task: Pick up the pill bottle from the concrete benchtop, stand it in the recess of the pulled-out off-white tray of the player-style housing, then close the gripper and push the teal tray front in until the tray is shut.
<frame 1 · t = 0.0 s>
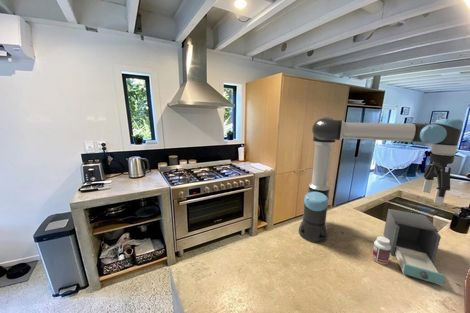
hand: (431, 197, 90), 28 cm above the counter, fingers open, 13 cm apart
housing: (405, 248, 96), on the counter
pill bottle: (379, 260, 88), on the counter
tray: (416, 261, 83), point 3 cm above the counter, slide at 13.0 cm
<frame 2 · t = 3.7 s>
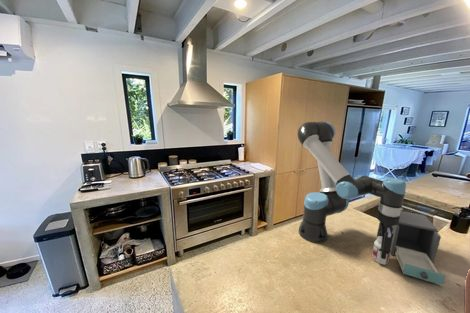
hand: (379, 258, 88), 1 cm above the counter, fingers closed on pill bottle, 6 cm apart
pill bottle: (379, 260, 88), on the counter, touching gripper
everything else where it was.
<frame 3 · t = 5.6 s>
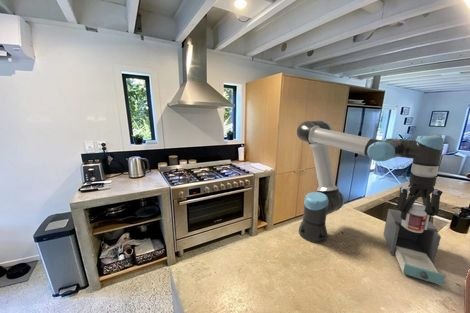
hand: (413, 227, 80), 20 cm above the counter, fingers closed on pill bottle, 6 cm apart
pill bottle: (413, 229, 80), point 19 cm above the counter, touching gripper
everything else where it was.
when the fingers open (4 cm above the counter, at t = 7.9 s): pill bottle drops 2 cm, resting on tray.
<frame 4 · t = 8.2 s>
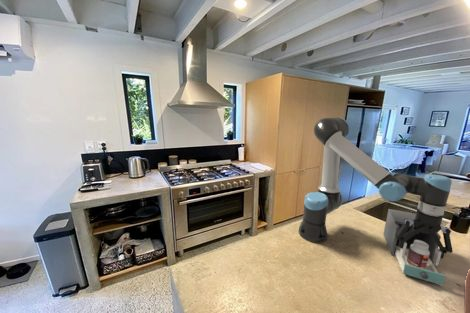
hand: (418, 258, 82), 5 cm above the counter, fingers open, 10 cm apart
pill bottle: (415, 265, 83), point 2 cm above the counter, touching tray
tray: (416, 261, 83), point 3 cm above the counter, slide at 13.0 cm, touching pill bottle
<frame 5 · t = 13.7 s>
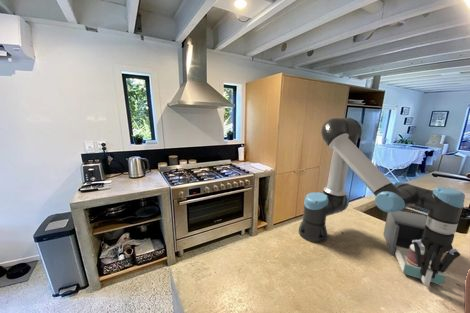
hand: (425, 282, 74), 2 cm above the counter, fingers closed
tray: (416, 261, 83), point 3 cm above the counter, slide at 12.9 cm, touching gripper, pill bottle
everything else where it was.
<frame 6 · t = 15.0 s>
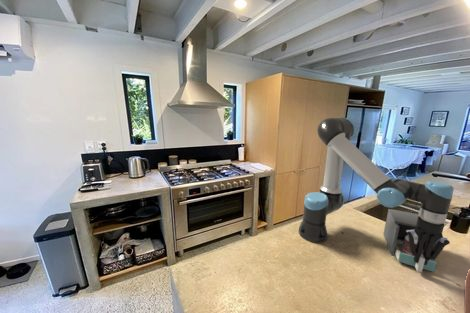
hand: (418, 269, 81), 2 cm above the counter, fingers closed
pill bottle: (410, 254, 89), point 2 cm above the counter, touching tray
tray: (411, 251, 89), point 3 cm above the counter, slide at 5.5 cm, touching gripper, pill bottle
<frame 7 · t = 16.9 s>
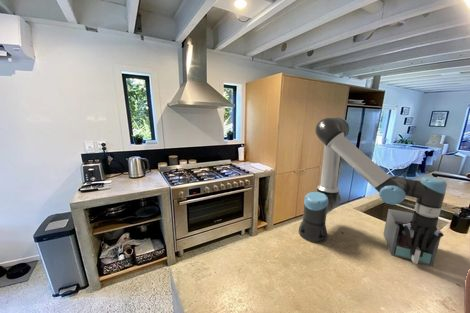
hand: (414, 261, 85), 2 cm above the counter, fingers closed
pill bottle: (406, 248, 94), point 2 cm above the counter, touching tray
tray: (407, 244, 94), point 3 cm above the counter, slide at 0.3 cm, touching pill bottle
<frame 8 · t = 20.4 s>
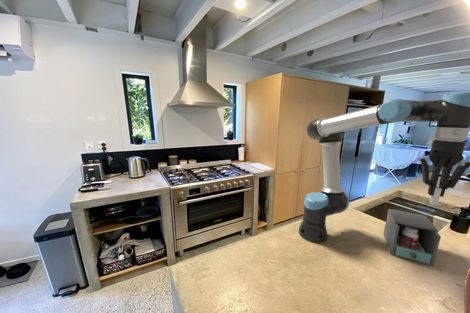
hand: (433, 203, 70), 34 cm above the counter, fingers closed
nothing on the counter moved.
at the end: tray slide at 0.4 cm; pill bottle inside the target area on the housing (1.9 cm from its centre), point 1.7 cm above the housing's base; pill bottle tilted 0° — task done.
